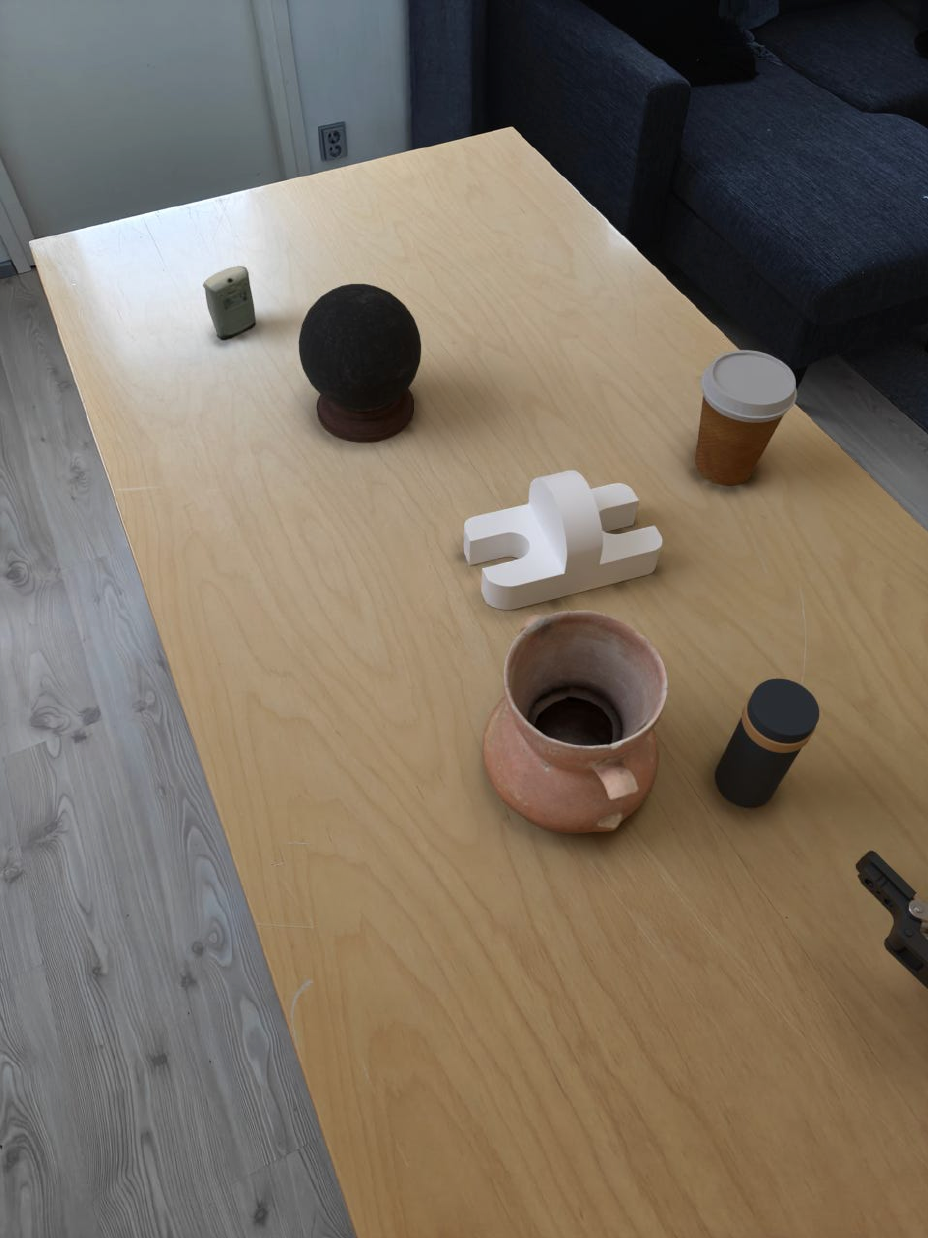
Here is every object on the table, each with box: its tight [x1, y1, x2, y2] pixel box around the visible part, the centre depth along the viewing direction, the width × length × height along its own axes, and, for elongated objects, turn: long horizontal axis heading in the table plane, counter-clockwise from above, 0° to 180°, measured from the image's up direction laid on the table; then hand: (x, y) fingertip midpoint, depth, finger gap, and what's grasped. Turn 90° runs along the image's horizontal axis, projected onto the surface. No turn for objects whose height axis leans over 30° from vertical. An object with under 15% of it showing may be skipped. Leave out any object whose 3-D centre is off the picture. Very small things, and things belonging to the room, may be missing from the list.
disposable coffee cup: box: [694, 349, 798, 486], centre depth 97 cm, size 10×10×12 cm
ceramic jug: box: [482, 609, 669, 834], centre depth 74 cm, size 18×14×14 cm
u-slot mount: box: [463, 469, 663, 611], centre depth 89 cm, size 18×10×10 cm, turn 109°
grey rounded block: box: [202, 265, 257, 341], centre depth 112 cm, size 6×5×8 cm
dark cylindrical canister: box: [714, 678, 820, 809], centre depth 74 cm, size 5×5×12 cm
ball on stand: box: [298, 283, 422, 443], centre depth 101 cm, size 13×13×15 cm
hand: (903, 824), depth 64 cm, fingers open, 8 cm apart
